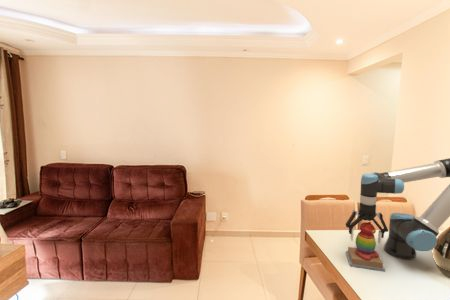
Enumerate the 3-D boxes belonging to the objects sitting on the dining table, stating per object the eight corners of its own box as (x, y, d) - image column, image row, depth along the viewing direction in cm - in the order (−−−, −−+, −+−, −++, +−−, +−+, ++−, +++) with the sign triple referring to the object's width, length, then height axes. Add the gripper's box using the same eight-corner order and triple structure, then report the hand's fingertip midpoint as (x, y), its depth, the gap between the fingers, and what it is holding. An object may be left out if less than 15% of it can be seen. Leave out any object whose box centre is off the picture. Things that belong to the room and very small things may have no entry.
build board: (377, 257, 138) (377, 250, 138) (384, 271, 125) (385, 264, 124) (345, 252, 143) (346, 246, 142) (350, 266, 130) (350, 258, 129)
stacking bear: (366, 261, 127) (370, 228, 124) (349, 251, 136) (352, 221, 133) (380, 257, 131) (384, 225, 128) (363, 247, 140) (366, 218, 138)
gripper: (392, 203, 130) (389, 241, 132) (341, 198, 137) (339, 235, 140) (397, 207, 123) (394, 248, 125) (343, 203, 130) (341, 241, 133)
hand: (365, 241), depth 133 cm, fingers open, 13 cm apart
